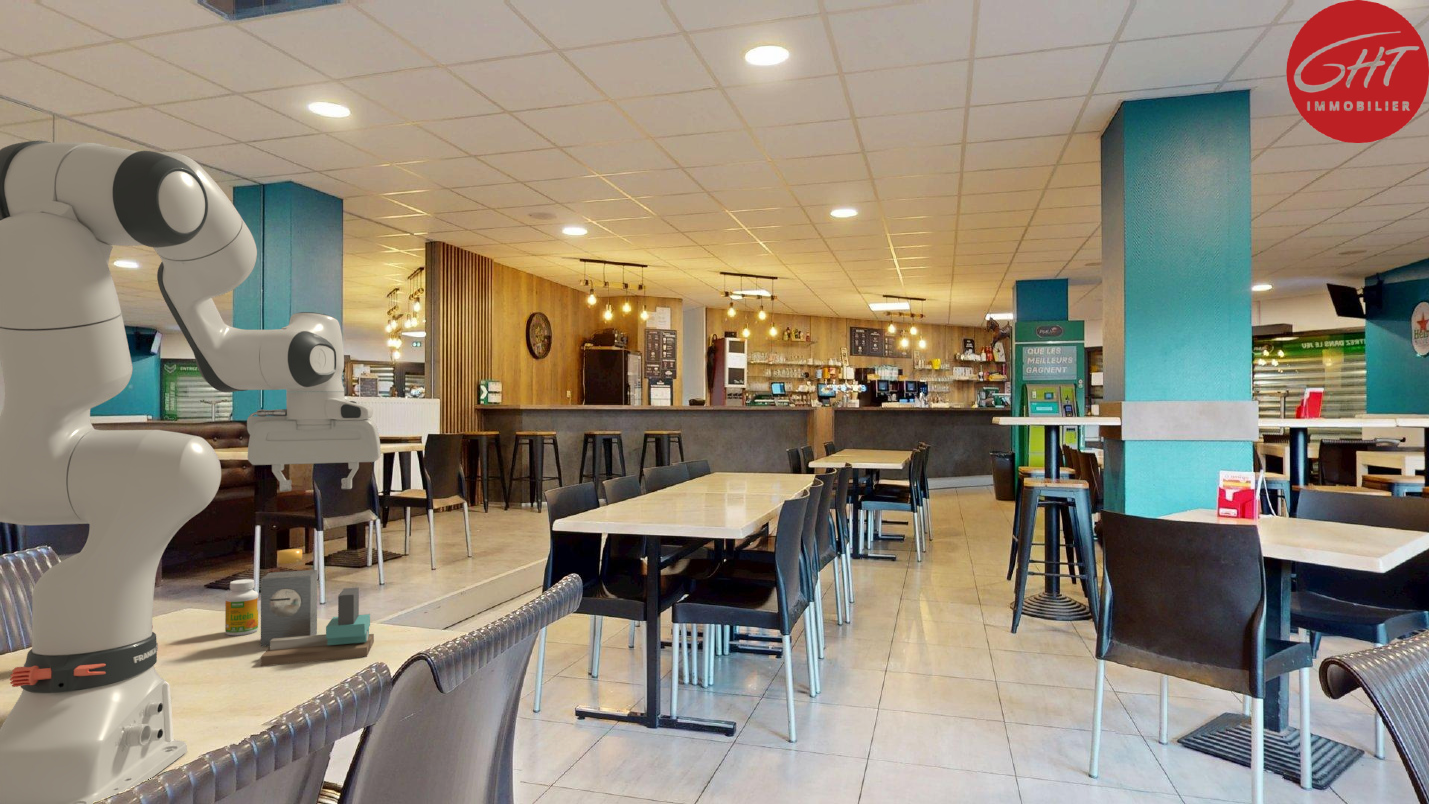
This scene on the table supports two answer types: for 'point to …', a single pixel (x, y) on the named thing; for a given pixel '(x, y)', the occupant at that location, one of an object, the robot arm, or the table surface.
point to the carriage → (348, 620)
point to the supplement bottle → (241, 608)
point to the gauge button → (289, 556)
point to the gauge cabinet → (288, 605)
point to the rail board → (312, 650)
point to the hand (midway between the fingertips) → (316, 489)
